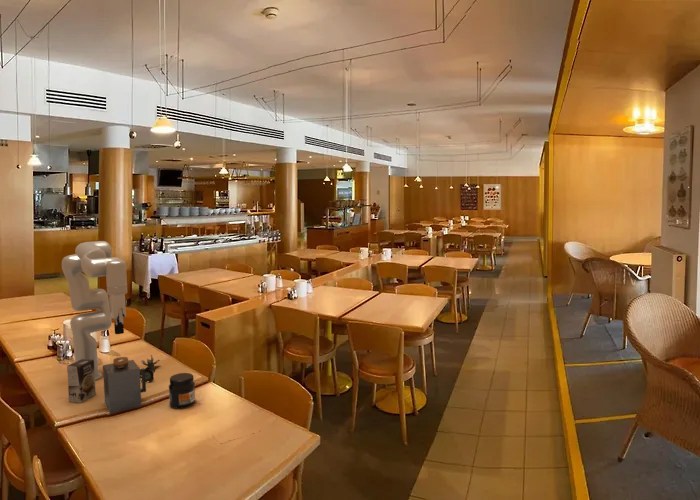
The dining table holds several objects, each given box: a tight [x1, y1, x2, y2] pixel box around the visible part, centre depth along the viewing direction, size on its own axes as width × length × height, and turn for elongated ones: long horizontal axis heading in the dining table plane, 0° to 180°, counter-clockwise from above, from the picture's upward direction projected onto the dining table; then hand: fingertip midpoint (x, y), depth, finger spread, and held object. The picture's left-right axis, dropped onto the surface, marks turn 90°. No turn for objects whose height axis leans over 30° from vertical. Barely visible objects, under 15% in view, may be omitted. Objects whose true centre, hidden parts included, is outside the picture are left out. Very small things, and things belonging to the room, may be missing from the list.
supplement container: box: [168, 372, 196, 409], centre depth 210 cm, size 10×10×12 cm
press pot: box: [102, 359, 147, 415], centre depth 209 cm, size 12×15×17 cm
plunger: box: [112, 356, 129, 368], centre depth 208 cm, size 10×10×18 cm
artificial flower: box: [140, 354, 161, 383], centre depth 244 cm, size 9×22×10 cm, turn 8°
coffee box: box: [66, 359, 96, 404], centre depth 215 cm, size 9×6×16 cm
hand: (119, 333), depth 206 cm, fingers closed
